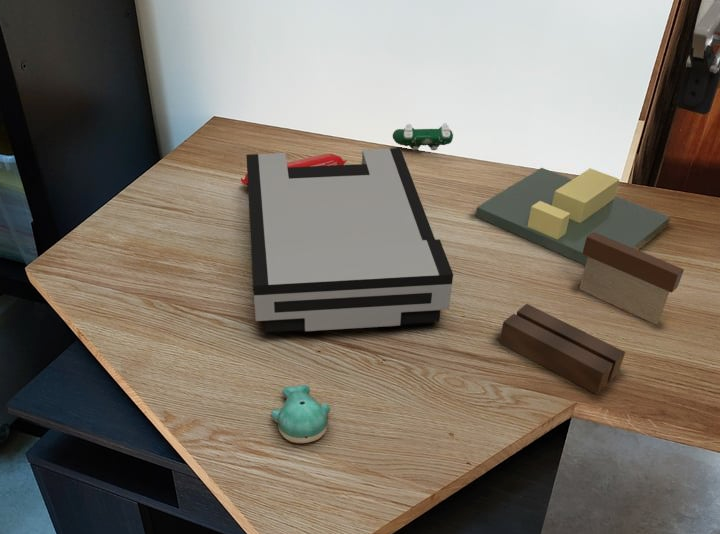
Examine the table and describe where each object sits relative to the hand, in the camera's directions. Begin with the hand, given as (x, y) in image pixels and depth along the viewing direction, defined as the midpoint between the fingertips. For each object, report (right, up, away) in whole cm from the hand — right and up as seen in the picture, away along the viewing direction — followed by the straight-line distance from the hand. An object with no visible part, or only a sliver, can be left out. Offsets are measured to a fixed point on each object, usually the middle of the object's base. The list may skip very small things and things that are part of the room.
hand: (712, 94), depth 77 cm
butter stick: (-4, -5, +28) cm, 28 cm away
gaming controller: (-24, +8, +44) cm, 51 cm away
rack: (-14, -26, +6) cm, 30 cm away
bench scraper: (-5, -20, +13) cm, 24 cm away
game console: (-37, -14, +20) cm, 45 cm away
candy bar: (-44, +3, +33) cm, 55 cm away
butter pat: (-10, -9, +23) cm, 27 cm away
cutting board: (-6, -7, +28) cm, 29 cm away
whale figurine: (-41, -33, -1) cm, 52 cm away
